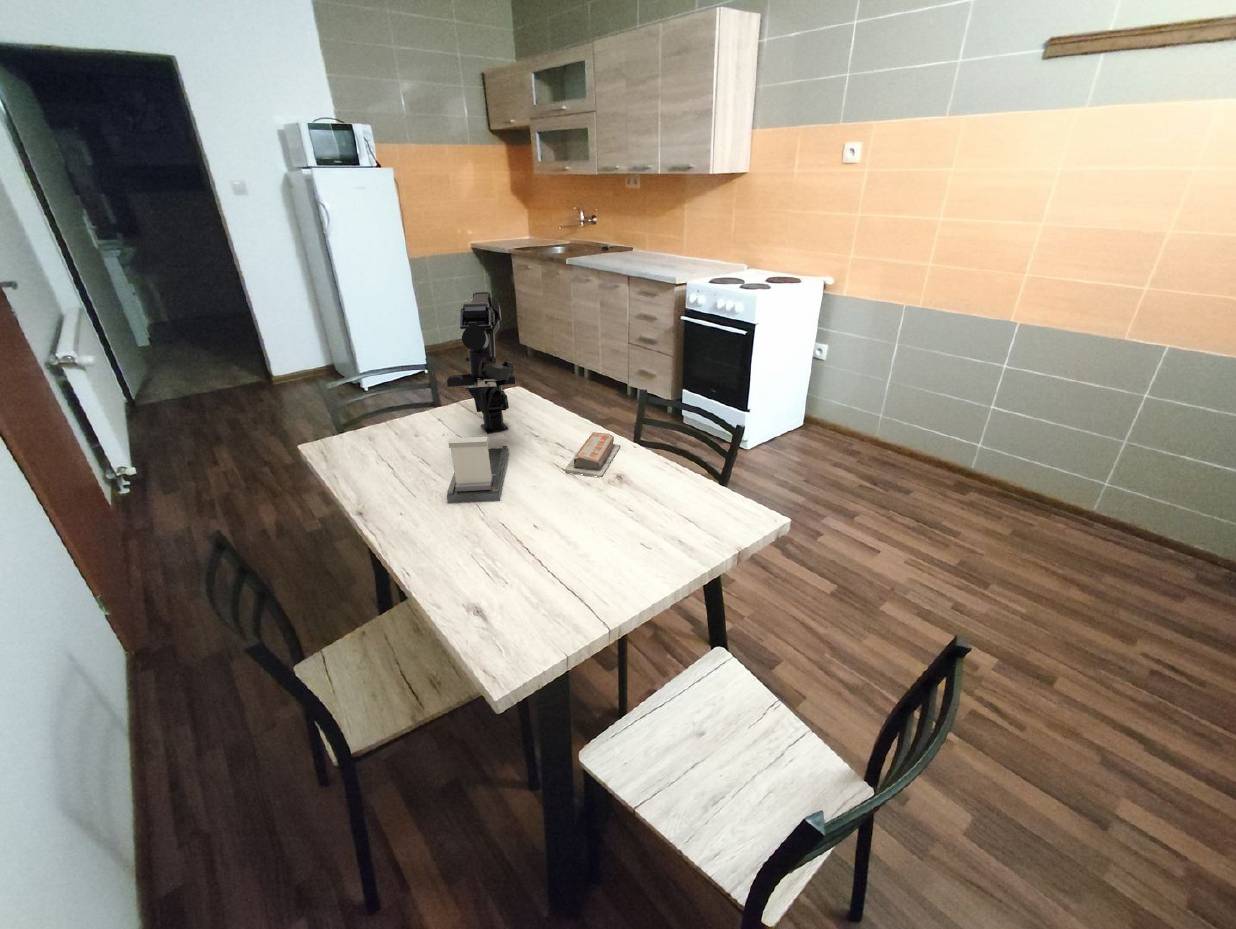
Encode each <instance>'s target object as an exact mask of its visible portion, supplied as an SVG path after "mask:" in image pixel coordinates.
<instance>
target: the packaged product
mask: <svg viewBox="0 0 1236 929" xmlns="http://www.w3.org/2000/svg"><path fill="white" fill-rule="evenodd" d="M614 439H615V436H614V435H612V434H611V433H605V432H592V433H591V434H590V435H589V437H588V438H587V439H586V440H585V442H584V443H583V444H582V446H581V447H580V448H579V450H578V451H577V452H576V454H575V455H574V456H573V457H572V458H571V460H570V461H569V463H568V464H567V465H566V467H565V468H564V471H565V473H566V474H569V473H572V474H571V475H576V474H583V475H582V476H584V475H589V476H588V477H592V476H597V477H596V478H600V477H603V476H604V475H605V473H606V471H607V470H608V468H609V466H610V465H611V463H612V462H613V461H614V459H615V457H614V456H616V455H617V453H618V452H619V450H620V448H621V444H614ZM613 458H614V459H613ZM611 461H612V462H611ZM609 464H610V465H609ZM607 467H608V468H607ZM603 474H604V475H603Z"/></svg>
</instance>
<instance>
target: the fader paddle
mask: <svg viewBox="0 0 1236 929" xmlns="http://www.w3.org/2000/svg"><path fill="white" fill-rule="evenodd" d="M488 443H489V436H473V437H471V436H470V437H450V439H449V441H448V448H449V449H450V452H451V459H452V465H453V473H454V472H455V478H456V486H455V488H456V491H474V490H491V487H492V482H493V475H491V467H490V459H489V452H488V449H489V446H488Z"/></svg>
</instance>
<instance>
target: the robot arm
mask: <svg viewBox="0 0 1236 929" xmlns="http://www.w3.org/2000/svg"><path fill="white" fill-rule="evenodd" d="M459 316H460V318H459V319H460V321H459V322H460V323H459V328H460V330H463V331H462V335H461V341H462V342H461V343H462V344H463V345H464V346H465V348H467V349H468V357H466V358H465V362H467V363H469V370H470V371H469V373H467V374H455V375H454V374H453V375H448V378H447V379H446V384H447V386H446V387H447V388H456V387H465V391H466V390H467V391H468V392H469V394H470V395H471V397H472V398H473V399H474V404H475V411H476V413H482V419H483V423H482V424H480V427H481V429H483V431H485V433H486V434H492V433H496V432H500V431H501V432H502V431H505V430H508V429H509V427H508V425H506V423H505V422H504V414H503V411H504V412H505V411H507V409H509V408H510V406H509V400H508V395H507V394H506V392H505V390H504V389H503V388H502V386H510V385H516V377H515V376H514V375H513V374H514V370H515V369H514V363H513V362H512V361H504V362H503V363H499V362H497V358H496V341H495V338H496V337H495V336H496V335H497V333H498V331H499V330H500V322H501V321H502V310H501V307H500V302H499V301H497V300H496V299H495V298H493V297H492V292H489V291H479V292H478V291H477V292H474V293H472V300H471V302H468V303H464V304H463V305H462V308H460V315H459Z"/></svg>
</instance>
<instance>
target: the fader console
mask: <svg viewBox="0 0 1236 929" xmlns="http://www.w3.org/2000/svg"><path fill="white" fill-rule="evenodd" d="M488 452H489V459H490V467H491V475H493V482H492V487H491V490H474V491H456V488H455V486H456V478H455V472H454V471H453V475H452V478H451V480H450V483H449V486H448V488H447V492H446V500H447V502H446V503H447V504H458V503H476V502H477V503H479V502H480V503H481V502H482V503H483V502H498V501H501V497H502V493H503V492H502V491H503V488H502V487H504V482H505V478H506V477H505V476H506V473H507V468H508V463H507V462H509V458H508V457H509V456H510V451H509V447H508V445H502V447H496V448H488ZM501 492H502V493H501Z"/></svg>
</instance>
